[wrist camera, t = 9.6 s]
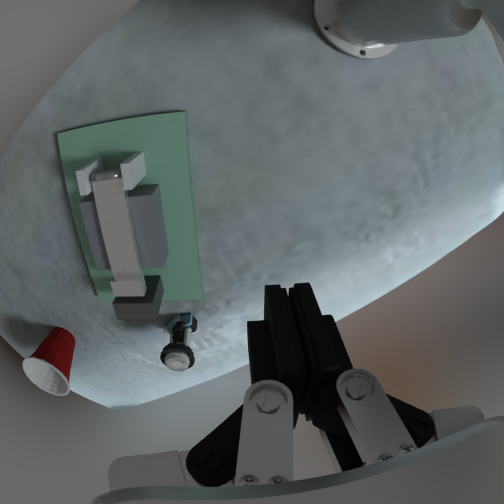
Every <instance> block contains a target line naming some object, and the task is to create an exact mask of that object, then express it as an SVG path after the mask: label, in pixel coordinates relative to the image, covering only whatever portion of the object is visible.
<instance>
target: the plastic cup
mask: <svg viewBox="0 0 504 504" xmlns="http://www.w3.org/2000/svg"><path fill="white" fill-rule="evenodd" d="M74 347H75V339H74V337H73V335H72V334H71V333H70V332H68V331H67V330H65V329H63V328H59V327H57V328H54V329H53V330H52V331H51V332H50V334H49V335H48V336H47V337H46V338H45V339H44V341H43V342H42V343H41V344H40V346H39V347H38V348H37V349H36V351H35V352H34V353H33V354H32V355H31V356H30V357H27V358H26V359H25V360H24V361H23V369H24V372H25V374H26V375H27V376H28V377H29V379H30V380H31V381H32V382H33V383H34V384H35V385H37V386H38V387H39V388H41V389H43V390H45V391H46V392H48V393H51V394H54V395H59V396H61V395H66V394H68V393H69V390H70V385H69V376H70V369H71V363H72V358H73V351H74Z"/></svg>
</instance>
